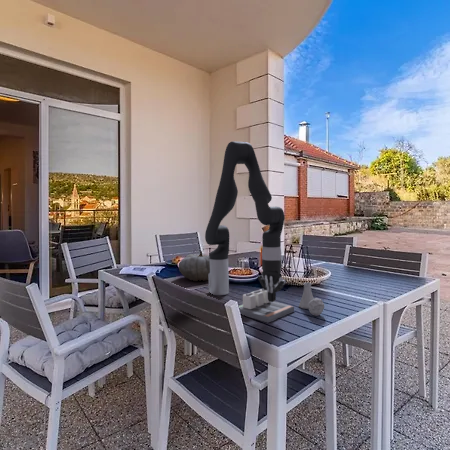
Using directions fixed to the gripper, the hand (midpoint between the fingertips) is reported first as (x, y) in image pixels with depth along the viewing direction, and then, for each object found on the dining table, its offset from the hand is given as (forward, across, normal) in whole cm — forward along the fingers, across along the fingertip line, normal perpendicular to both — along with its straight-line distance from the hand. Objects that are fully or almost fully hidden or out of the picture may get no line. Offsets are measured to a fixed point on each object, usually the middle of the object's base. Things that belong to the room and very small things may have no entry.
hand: (271, 301), depth 127 cm
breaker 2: (+3, -7, +5) cm, 9 cm away
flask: (+5, +6, +17) cm, 19 cm away
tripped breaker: (+3, -7, 0) cm, 8 cm away
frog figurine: (+5, +14, +10) cm, 18 cm away
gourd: (+6, -68, +20) cm, 71 cm away
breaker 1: (+3, -7, -5) cm, 9 cm away
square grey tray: (+5, -4, 0) cm, 6 cm away
